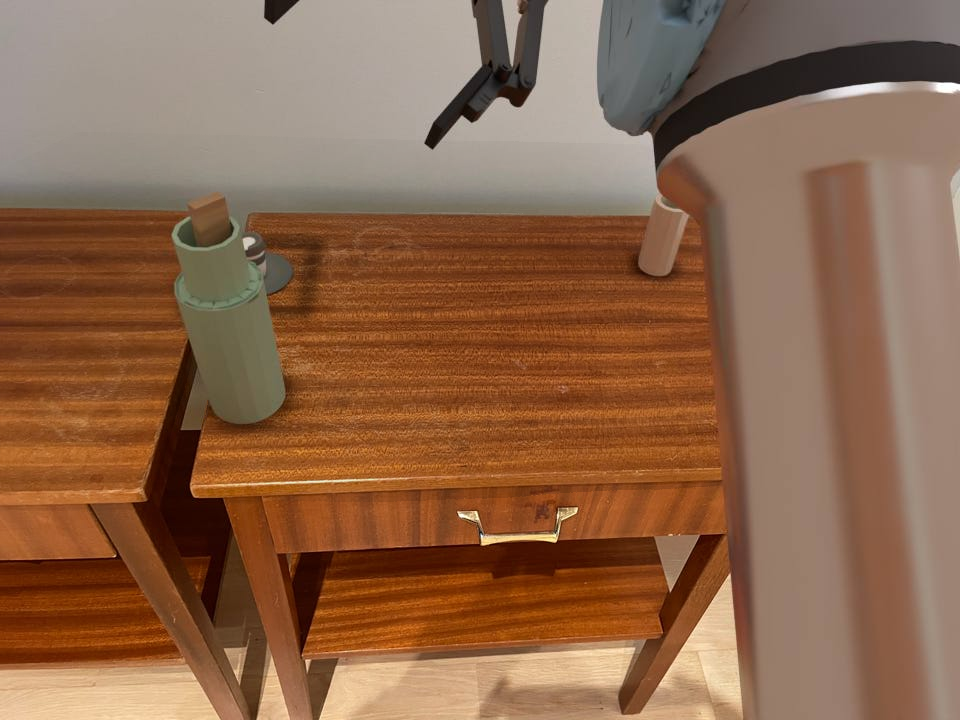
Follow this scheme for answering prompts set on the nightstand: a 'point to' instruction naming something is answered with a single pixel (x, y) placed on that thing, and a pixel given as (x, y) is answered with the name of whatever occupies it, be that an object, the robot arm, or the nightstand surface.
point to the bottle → (228, 326)
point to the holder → (662, 237)
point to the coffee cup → (267, 262)
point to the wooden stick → (210, 220)
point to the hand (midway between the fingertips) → (351, 73)
